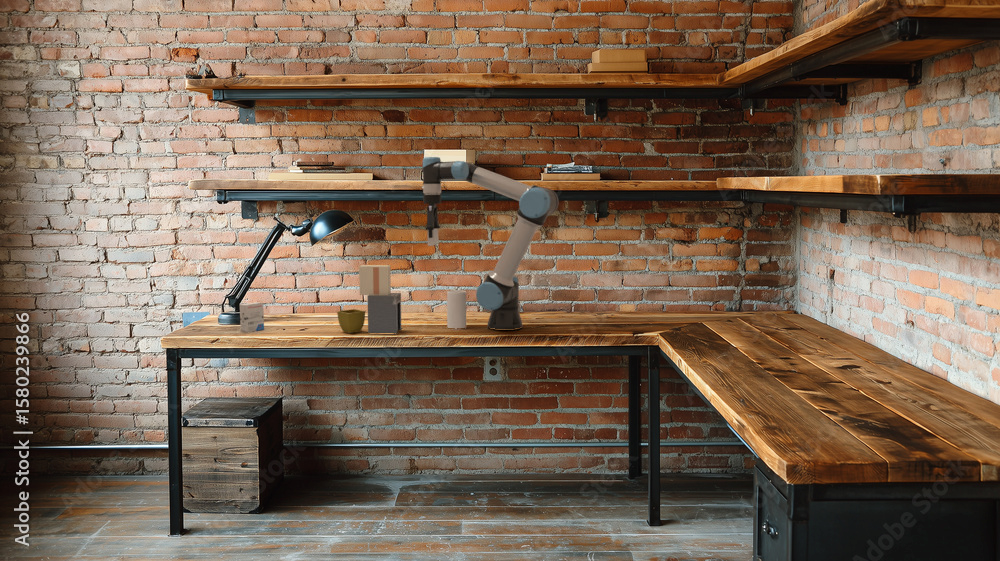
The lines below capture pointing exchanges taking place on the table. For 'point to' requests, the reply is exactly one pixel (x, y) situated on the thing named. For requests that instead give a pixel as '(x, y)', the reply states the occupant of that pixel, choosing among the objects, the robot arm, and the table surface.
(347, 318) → the flower pot
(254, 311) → the ink box
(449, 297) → the cup
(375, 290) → the striped beige block
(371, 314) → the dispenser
